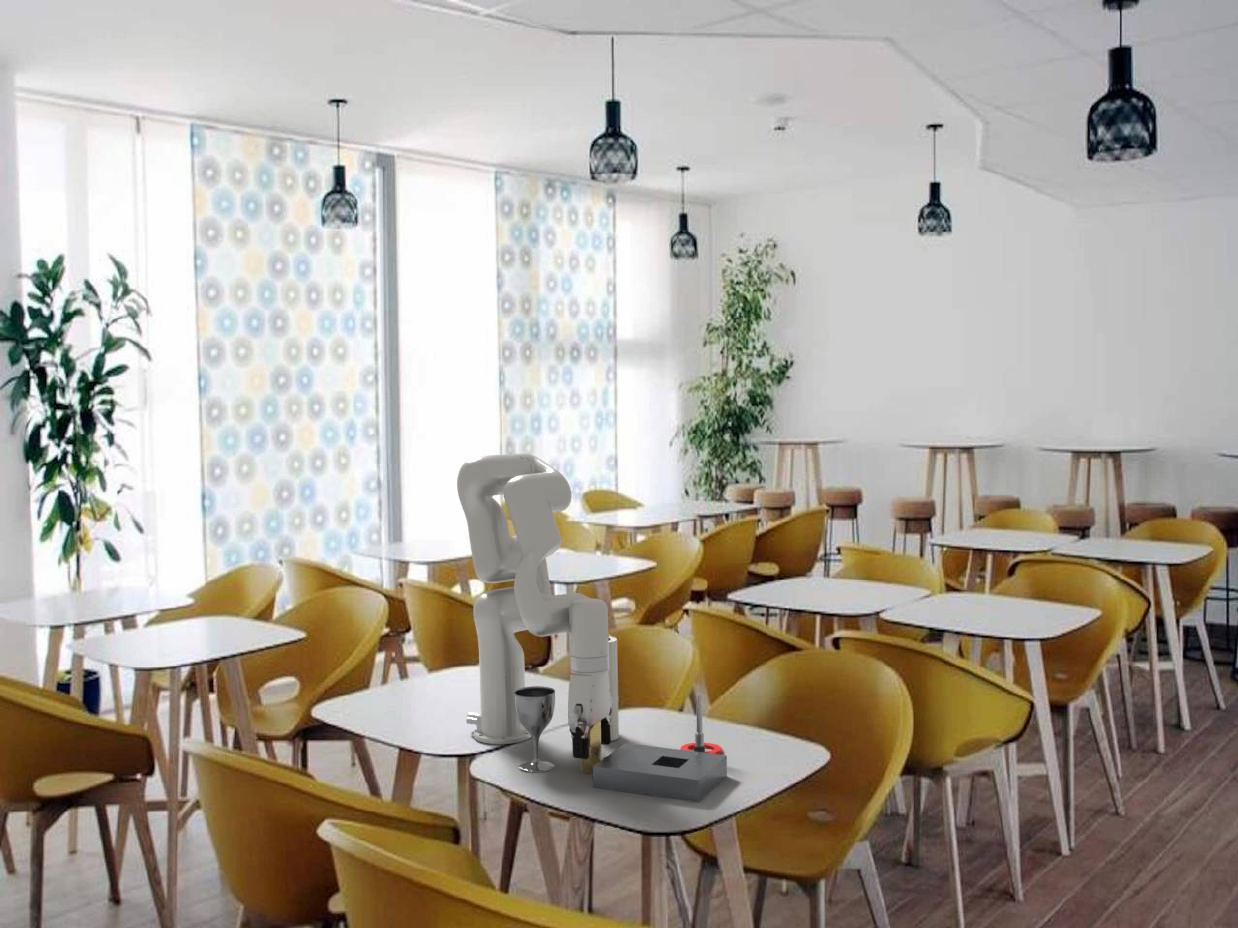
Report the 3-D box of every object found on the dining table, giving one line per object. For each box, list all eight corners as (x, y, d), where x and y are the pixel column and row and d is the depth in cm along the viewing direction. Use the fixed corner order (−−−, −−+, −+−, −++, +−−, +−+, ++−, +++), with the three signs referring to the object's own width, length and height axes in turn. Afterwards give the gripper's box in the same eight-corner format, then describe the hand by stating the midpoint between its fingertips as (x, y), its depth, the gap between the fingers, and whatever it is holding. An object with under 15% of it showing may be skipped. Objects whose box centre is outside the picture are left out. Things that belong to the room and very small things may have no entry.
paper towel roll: (602, 744, 245) (600, 642, 244) (584, 737, 250) (582, 638, 248) (628, 737, 250) (627, 637, 248) (611, 731, 254) (609, 633, 253)
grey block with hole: (593, 787, 219) (592, 766, 219) (626, 762, 233) (625, 742, 233) (699, 802, 211) (699, 780, 211) (726, 775, 224) (726, 755, 224)
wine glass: (562, 761, 234) (561, 687, 233) (547, 774, 227) (545, 698, 226) (525, 758, 237) (524, 684, 236) (509, 771, 229) (507, 695, 228)
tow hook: (682, 747, 244) (678, 759, 235) (682, 685, 244) (677, 694, 235) (723, 748, 243) (720, 761, 234) (723, 686, 242) (720, 696, 233)
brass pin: (577, 772, 228) (576, 716, 227) (586, 765, 232) (585, 710, 231) (596, 774, 226) (595, 718, 226) (604, 768, 230) (604, 712, 229)
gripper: (591, 652, 237) (593, 736, 238) (551, 672, 221) (554, 761, 222) (625, 655, 234) (627, 740, 235) (587, 675, 218) (590, 766, 219)
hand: (592, 750), depth 229 cm, fingers open, 9 cm apart
